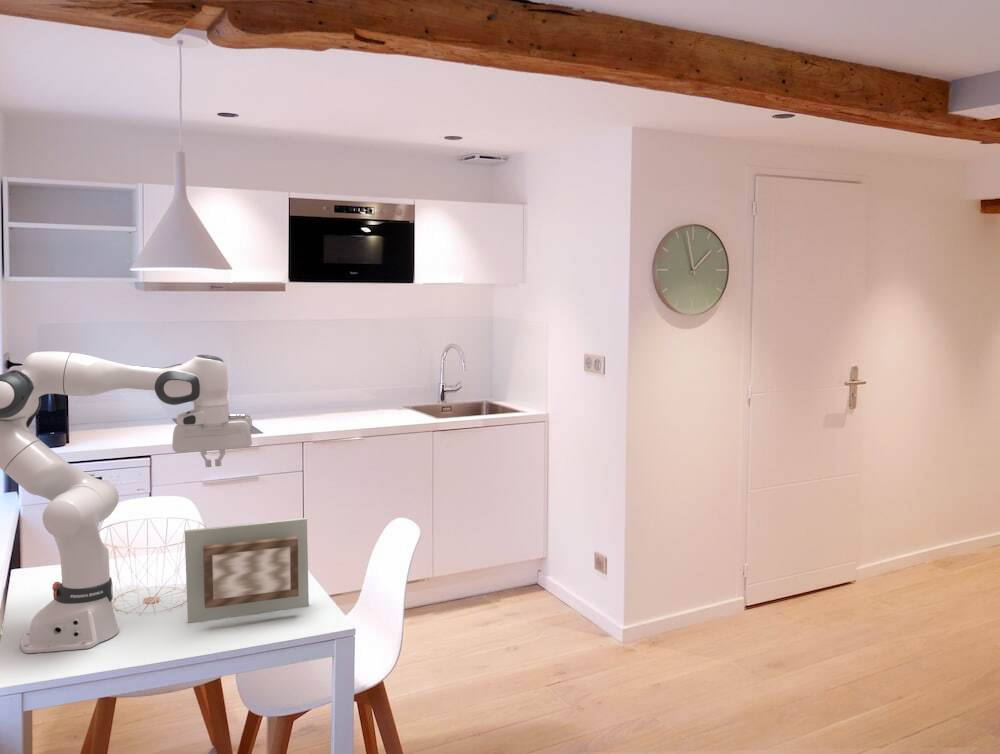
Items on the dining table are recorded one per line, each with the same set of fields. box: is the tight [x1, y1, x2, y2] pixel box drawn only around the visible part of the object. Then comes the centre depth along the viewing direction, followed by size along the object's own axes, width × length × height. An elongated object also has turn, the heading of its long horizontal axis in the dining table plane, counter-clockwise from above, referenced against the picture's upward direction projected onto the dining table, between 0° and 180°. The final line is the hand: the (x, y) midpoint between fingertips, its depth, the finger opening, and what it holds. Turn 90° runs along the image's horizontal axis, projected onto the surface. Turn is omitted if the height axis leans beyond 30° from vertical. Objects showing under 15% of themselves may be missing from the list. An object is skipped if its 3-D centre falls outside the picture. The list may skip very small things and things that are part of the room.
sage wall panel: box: [184, 517, 310, 624], centre depth 235 cm, size 32×6×25 cm, turn 114°
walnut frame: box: [203, 536, 299, 608], centre depth 231 cm, size 24×2×16 cm, turn 114°
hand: (213, 466), depth 234 cm, fingers closed
